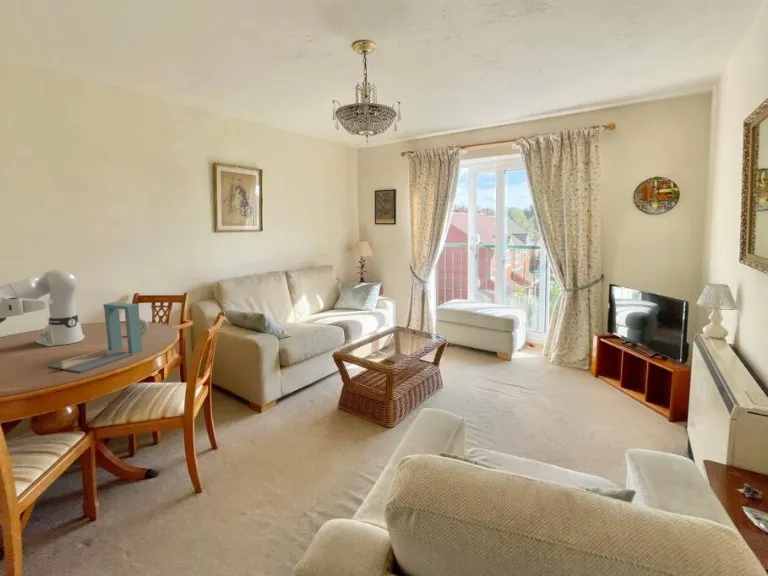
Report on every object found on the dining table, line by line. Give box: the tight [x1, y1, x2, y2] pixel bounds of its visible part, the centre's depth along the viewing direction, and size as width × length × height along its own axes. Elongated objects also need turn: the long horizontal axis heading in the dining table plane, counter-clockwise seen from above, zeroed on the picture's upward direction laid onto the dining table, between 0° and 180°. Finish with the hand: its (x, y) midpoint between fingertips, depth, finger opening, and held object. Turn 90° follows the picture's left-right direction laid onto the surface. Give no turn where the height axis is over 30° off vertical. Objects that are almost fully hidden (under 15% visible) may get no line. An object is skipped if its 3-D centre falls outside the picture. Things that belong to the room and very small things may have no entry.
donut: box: [139, 317, 149, 335], centre depth 229 cm, size 10×4×10 cm, turn 129°
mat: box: [48, 349, 134, 374], centre depth 185 cm, size 20×25×1 cm
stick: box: [59, 348, 108, 370], centre depth 181 cm, size 2×19×3 cm, turn 161°
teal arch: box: [102, 301, 143, 354], centre depth 198 cm, size 16×6×24 cm, turn 72°
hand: (43, 300), depth 167 cm, fingers open, 8 cm apart
